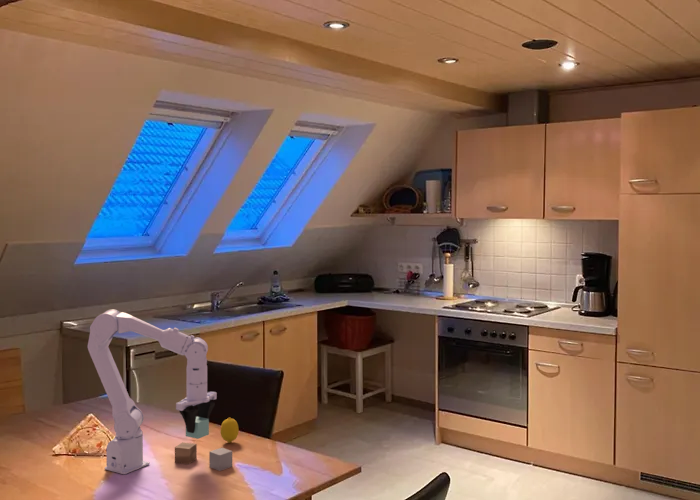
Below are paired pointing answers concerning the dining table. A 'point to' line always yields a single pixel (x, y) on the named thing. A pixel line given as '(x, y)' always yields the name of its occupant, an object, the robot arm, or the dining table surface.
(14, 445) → the dining table surface
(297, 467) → the dining table surface
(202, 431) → the teal block
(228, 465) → the grey block
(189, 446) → the walnut block
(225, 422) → the lemon
